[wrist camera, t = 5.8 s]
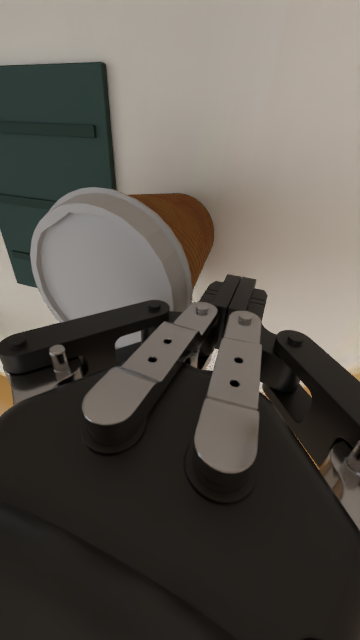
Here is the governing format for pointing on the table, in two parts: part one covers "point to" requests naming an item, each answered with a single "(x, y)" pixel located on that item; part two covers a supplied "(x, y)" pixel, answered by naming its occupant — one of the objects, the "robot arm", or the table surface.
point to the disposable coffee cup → (119, 252)
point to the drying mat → (49, 146)
